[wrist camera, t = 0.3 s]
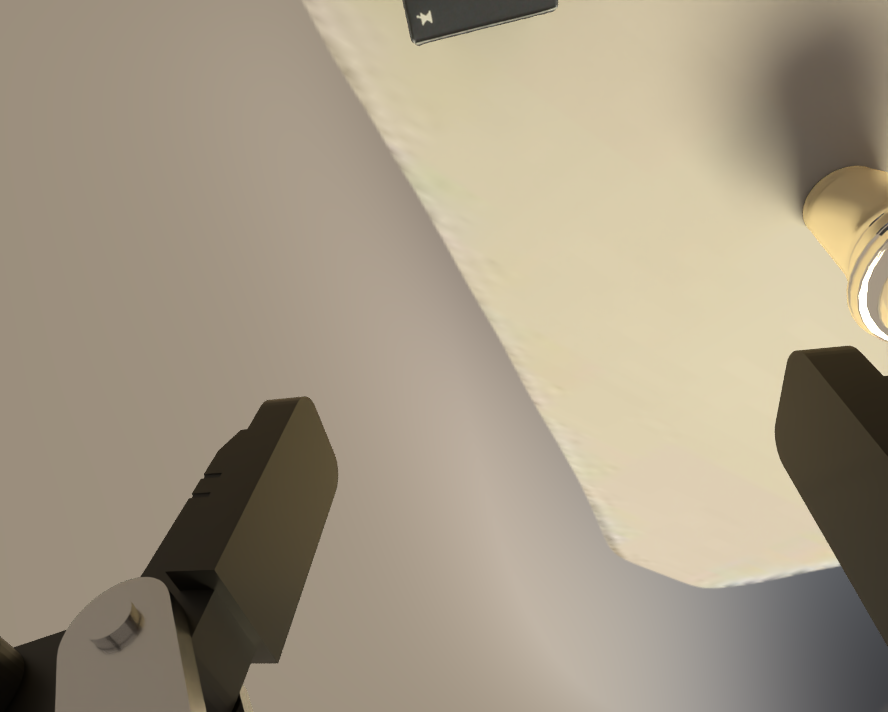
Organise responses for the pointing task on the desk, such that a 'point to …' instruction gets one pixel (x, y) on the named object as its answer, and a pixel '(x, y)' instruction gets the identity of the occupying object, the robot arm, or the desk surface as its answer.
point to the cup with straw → (855, 238)
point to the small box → (466, 16)
